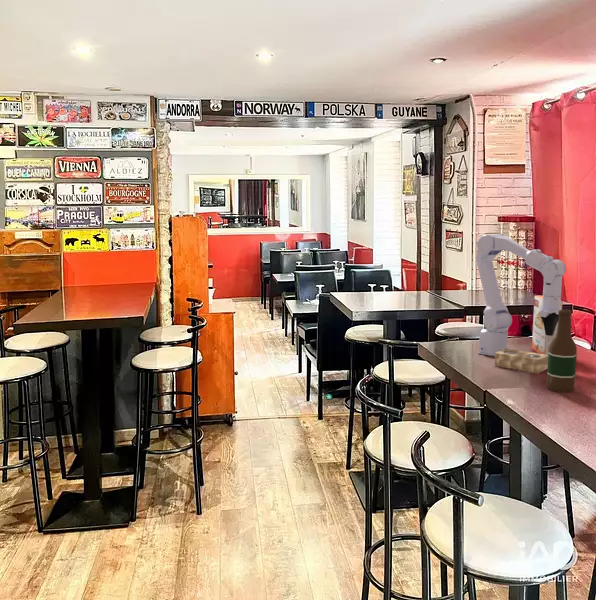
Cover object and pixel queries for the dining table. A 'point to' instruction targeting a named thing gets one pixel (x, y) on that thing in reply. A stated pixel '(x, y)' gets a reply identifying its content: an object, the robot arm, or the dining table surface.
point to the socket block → (521, 360)
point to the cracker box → (541, 329)
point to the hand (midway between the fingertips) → (549, 335)
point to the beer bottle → (562, 356)
